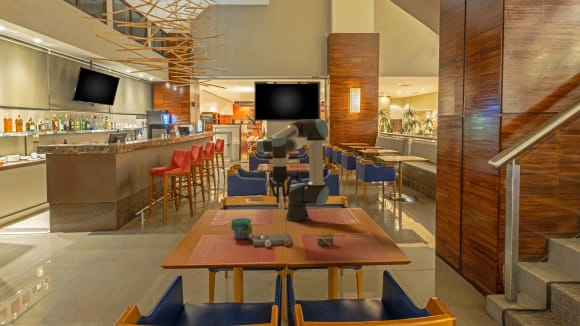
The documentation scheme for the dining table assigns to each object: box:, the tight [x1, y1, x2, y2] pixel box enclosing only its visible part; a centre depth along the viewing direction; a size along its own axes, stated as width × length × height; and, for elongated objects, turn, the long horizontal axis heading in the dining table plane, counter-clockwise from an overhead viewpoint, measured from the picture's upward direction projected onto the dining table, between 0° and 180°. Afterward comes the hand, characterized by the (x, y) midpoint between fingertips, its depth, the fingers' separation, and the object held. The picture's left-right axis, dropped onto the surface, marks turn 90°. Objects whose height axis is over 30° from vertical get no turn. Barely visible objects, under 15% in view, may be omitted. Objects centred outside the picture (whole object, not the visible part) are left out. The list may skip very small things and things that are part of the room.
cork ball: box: [284, 239, 292, 247], centre depth 220 cm, size 4×4×4 cm
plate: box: [250, 232, 293, 248], centre depth 229 cm, size 20×13×2 cm, turn 100°
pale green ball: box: [264, 240, 272, 248], centre depth 219 cm, size 4×4×4 cm
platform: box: [315, 232, 336, 246], centre depth 220 cm, size 12×18×7 cm, turn 96°
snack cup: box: [230, 217, 253, 240], centre depth 237 cm, size 16×10×10 cm
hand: (281, 208), depth 234 cm, fingers closed
